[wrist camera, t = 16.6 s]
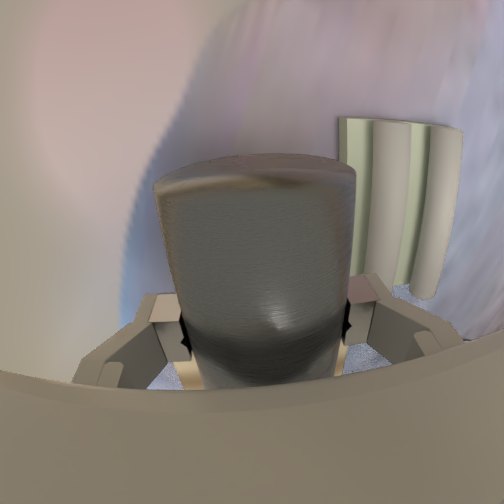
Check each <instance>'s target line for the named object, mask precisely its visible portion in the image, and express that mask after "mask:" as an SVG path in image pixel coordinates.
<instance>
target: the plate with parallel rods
mask: <svg viewBox="0 0 504 504" xmlns="http://www.w3.org/2000/svg"><path fill="white" fill-rule="evenodd" d="M338 118H339V161H340V162H343V163H345V164H347V165H349V166H351V167H352V168H353V169H354V170H355V171H356V175H357V177H356V202H355V219H354V234H353V246H352V257H351V267H350V276H357V275H362V274H368V273H376V274H377V275H378V276H379V278H380V279H381V280H382V282H383V283H384V285H385V286H386V287H387V289H388V290H389V292H390V293H392V289H393V286H397V285H403V284H409V283H410V285H409V291H410V293H411V294H412V295H413V296H415V297H417V298H419V299H425V300H426V299H431V298H433V297H434V296H435V293H436V290H437V286H438V283H439V279H440V276H441V272H442V268H443V264H444V260H445V256H446V252H447V248H448V243H449V239H450V234H451V229H452V224H453V219H454V213H455V207H456V201H457V195H458V187H459V179H460V171H461V160H462V148H463V131H462V130H460V129H457V128H453V127H448V126H441V125H434V124H427V123H418V122H409V121H399V120H387V119H372V118H351V117H338ZM350 276H349V277H350Z"/></svg>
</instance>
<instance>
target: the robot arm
mask: <svg viewBox="0 0 504 504" xmlns="http://www.w3.org/2000/svg"><path fill="white" fill-rule="evenodd" d="M341 340H342V342H343V345H344V346H348V345H355V344H361V343H367V344H368V345H369V346H371V347H372V348H373V349H374V350H376V351H377V352H378V353H379V354H381V355H382V356H383V357H385V358H386V359H387V360H388V361H390V362H391V363H392V364H393V365H389V366H385V367H380V368H376V369H371V370H366V371H362V372H357V373H351V374H346V375H341V376H335V377H329V378H323V379H316V380H310V381H302V382H295V383H287V384H278V385H269V386H258V387H246V388H231V389H209V390H149V389H146V388H147V387H148V386H149V385H150V384H151V382H152V381H153V380H154V379H155V378H156V377H157V375H158V374H159V373H160V372H161V371H162V370H163V368H164V367H165V366H166V365H167V364H168V363H167V362H185V361H191V359H192V352H193V350H192V347H191V344H190V340H189V337H188V334H187V330H186V327H185V323H184V320H183V316H182V313H181V309H180V305H179V302H178V298H177V294H176V292H175V293H154V294H146V295H144V297H143V299H142V302H141V304H140V307H139V309H138V312H137V314H136V317H135V319H134V322H133V323H129V324H127V325H126V326H125V327H123V328H122V329H121V330H119V331H118V332H117V333H115V334H114V335H113V336H112V337H110V338H109V339H108V340H106V341H105V342H104V343H102V344H101V345H100V346H98V347H97V348H96V349H94V350H93V351H92V352H90V353H89V354H88V355H86V356H85V357H84V358H83V359H82V360H81V362H80V364H79V367H78V369H77V371H76V373H75V375H74V378H73V380H72V383H66V382H60V381H53V380H47V379H41V378H36V377H30V376H25V375H20V374H16V373H11V372H7V371H2V370H0V504H504V328H503V329H501V330H499V331H496V332H494V333H491V334H489V335H486V336H483V337H481V338H478V339H475V340H473V341H463V339H462V338H461V337H460V335H459V334H458V333H457V331H456V330H455V328H454V327H453V326H452V324H451V323H449V322H447V321H445V320H443V319H441V318H439V317H437V316H435V315H433V314H431V313H429V312H427V311H425V310H423V309H421V308H419V307H417V306H414V305H412V304H410V303H408V302H406V301H404V300H402V299H400V298H394V297H393V296H392V294H391V293H390V292H389V290H388V289H387V287H386V286H385V285H384V283H383V282H382V280H381V279H380V278H379V276H378V275H377V274H376V273H368V274H362V275H357V276H350V277H349V285H348V293H347V301H346V308H345V315H344V322H343V328H342V335H341Z"/></svg>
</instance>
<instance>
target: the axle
mask: <svg viewBox="0 0 504 504" xmlns="http://www.w3.org/2000/svg"><path fill="white" fill-rule="evenodd" d="M356 177H357V175H356V171H355V170H354V169H353V168H352V167H351V166H349V165H347V164H345V163H343V162H340V161H337V160H334V159H329V158H325V157H319V156H312V155H303V154H283V153H271V154H251V155H241V156H232V157H226V158H220V159H214V160H209V161H205V162H201V163H197V164H193V165H190V166H187V167H184V168H181V169H178V170H176V171H173V172H171V173H169V174H167V175H165V176H164V177H162V178H160V179H159V180H158V181H157V182H156V183H155V184H154V187H153V191H154V196H155V202H156V207H157V212H158V217H159V222H160V226H161V231H162V236H163V240H164V245H165V249H166V253H167V258H168V262H169V266H170V270H171V274H172V278H173V282H174V286H175V290H176V294H177V298H178V302H179V305H180V309H181V313H182V316H183V320H184V323H185V327H186V330H187V334H188V337H189V340H190V344H191V347H192V350H193V354H194V357H195V360H196V363H197V366H198V370H199V373H200V376H201V379H202V382H203V385H204V388H205V390H209V389H231V388H246V387H258V386H269V385H278V384H287V383H295V382H302V381H310V380H316V379H323V378H329V377H334V374H335V369H336V363H337V358H338V352H339V347H340V341H341V335H342V328H343V322H344V315H345V308H346V301H347V293H348V285H349V276H350V267H351V257H352V246H353V234H354V219H355V202H356Z"/></svg>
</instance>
